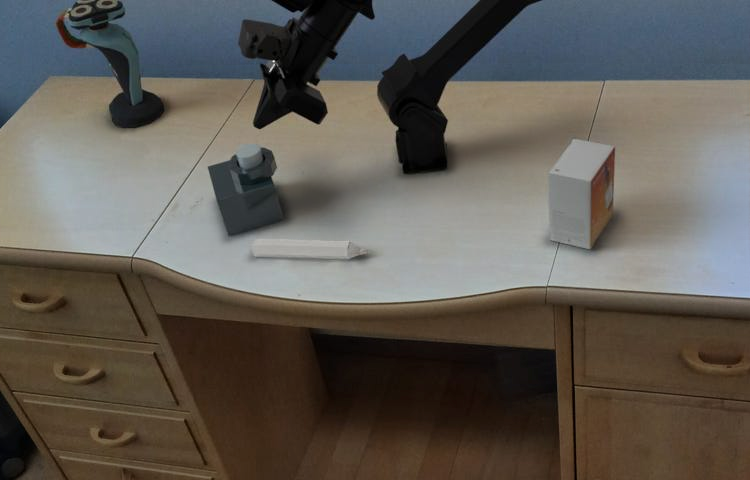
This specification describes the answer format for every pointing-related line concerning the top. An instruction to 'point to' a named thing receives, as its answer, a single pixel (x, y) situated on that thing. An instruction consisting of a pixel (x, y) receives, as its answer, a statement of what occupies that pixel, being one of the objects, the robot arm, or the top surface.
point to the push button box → (246, 194)
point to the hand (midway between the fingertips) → (256, 126)
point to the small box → (581, 193)
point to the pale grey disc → (249, 156)
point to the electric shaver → (113, 58)
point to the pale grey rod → (306, 249)
